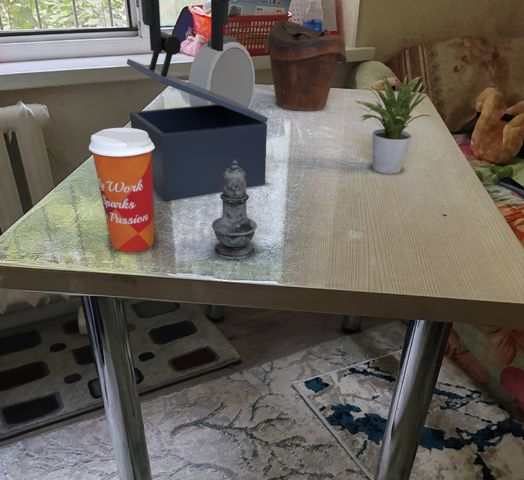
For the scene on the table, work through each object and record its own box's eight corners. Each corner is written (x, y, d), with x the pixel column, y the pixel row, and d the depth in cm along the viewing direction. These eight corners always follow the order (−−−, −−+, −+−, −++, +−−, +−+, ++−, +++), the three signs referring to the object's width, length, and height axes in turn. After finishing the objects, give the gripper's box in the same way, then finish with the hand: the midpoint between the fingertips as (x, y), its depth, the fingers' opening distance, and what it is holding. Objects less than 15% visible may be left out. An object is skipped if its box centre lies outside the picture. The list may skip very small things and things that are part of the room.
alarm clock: (227, 121, 125) (226, 29, 114) (264, 129, 120) (267, 34, 109) (180, 137, 114) (174, 36, 103) (218, 146, 109) (217, 43, 98)
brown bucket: (339, 116, 131) (349, 31, 121) (257, 110, 133) (260, 26, 123) (342, 100, 146) (351, 22, 135) (268, 95, 148) (271, 18, 137)
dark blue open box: (166, 200, 86) (161, 135, 80) (135, 171, 96) (129, 112, 90) (265, 184, 93) (267, 123, 87) (227, 159, 103) (226, 102, 97)
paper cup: (92, 250, 71) (74, 139, 63) (121, 227, 77) (108, 123, 69) (146, 259, 70) (135, 147, 61) (172, 235, 76) (164, 130, 67)
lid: (159, 82, 76) (172, 34, 73) (126, 63, 86) (136, 21, 83) (266, 123, 87) (280, 82, 84) (225, 102, 97) (237, 65, 95)
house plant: (366, 150, 110) (379, 60, 101) (433, 163, 105) (454, 69, 95) (336, 169, 101) (347, 71, 91) (408, 185, 95) (428, 82, 85)
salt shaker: (218, 238, 75) (216, 150, 68) (260, 243, 75) (262, 154, 68) (207, 257, 71) (204, 164, 64) (252, 262, 70) (254, 169, 63)
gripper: (104, -166, 62) (124, 56, 75) (271, -142, 71) (262, 52, 84) (86, -159, 67) (108, 48, 80) (244, -138, 76) (240, 45, 89)
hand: (187, 50), depth 82 cm, fingers open, 9 cm apart
